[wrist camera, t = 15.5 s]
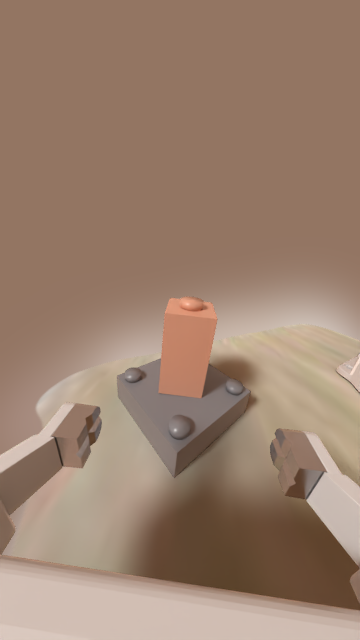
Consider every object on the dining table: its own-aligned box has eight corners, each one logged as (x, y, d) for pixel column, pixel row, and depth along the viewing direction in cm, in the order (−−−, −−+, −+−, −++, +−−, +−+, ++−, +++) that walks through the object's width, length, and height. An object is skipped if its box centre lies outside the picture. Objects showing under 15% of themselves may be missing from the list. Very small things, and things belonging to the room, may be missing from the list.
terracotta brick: (164, 366, 26) (170, 291, 22) (199, 370, 26) (213, 296, 22) (158, 393, 22) (165, 304, 18) (201, 398, 22) (219, 311, 17)
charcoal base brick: (183, 368, 33) (186, 344, 31) (243, 414, 25) (252, 386, 23) (118, 399, 26) (116, 370, 24) (173, 480, 17) (177, 446, 16)
